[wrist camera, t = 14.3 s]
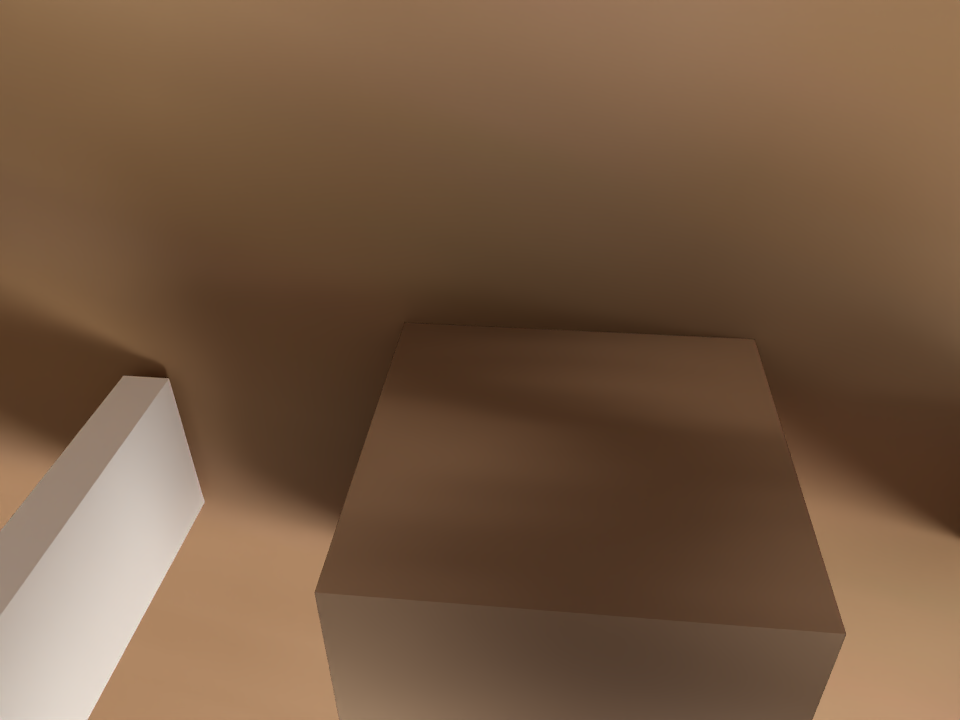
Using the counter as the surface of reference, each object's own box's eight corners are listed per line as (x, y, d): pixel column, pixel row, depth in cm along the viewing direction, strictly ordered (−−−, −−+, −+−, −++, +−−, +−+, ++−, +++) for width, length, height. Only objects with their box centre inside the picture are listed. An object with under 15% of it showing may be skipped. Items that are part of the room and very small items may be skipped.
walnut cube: (422, 551, 15) (362, 839, 11) (406, 319, 12) (314, 592, 8) (701, 572, 14) (748, 880, 10) (753, 336, 12) (845, 634, 7)
